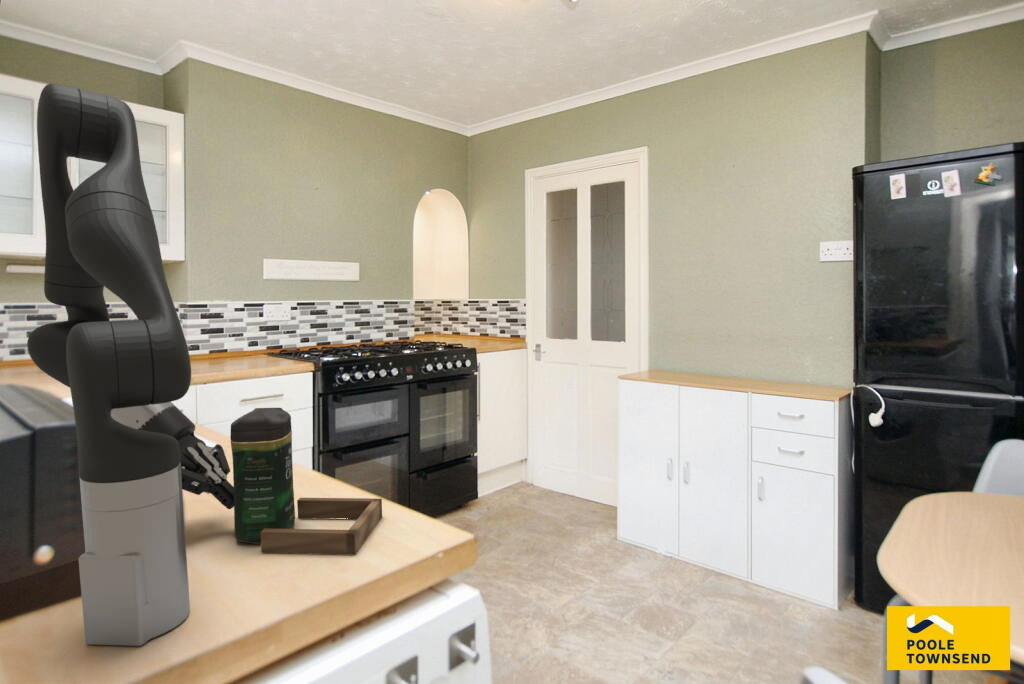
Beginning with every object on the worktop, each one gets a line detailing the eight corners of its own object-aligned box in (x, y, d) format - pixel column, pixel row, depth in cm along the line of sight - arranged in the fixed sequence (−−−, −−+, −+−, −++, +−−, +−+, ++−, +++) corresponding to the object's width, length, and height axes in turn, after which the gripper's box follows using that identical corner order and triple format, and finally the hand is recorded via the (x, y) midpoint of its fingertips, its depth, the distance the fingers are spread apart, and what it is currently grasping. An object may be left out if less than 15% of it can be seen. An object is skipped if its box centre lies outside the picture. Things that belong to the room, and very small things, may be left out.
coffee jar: (287, 544, 86) (281, 416, 84) (228, 547, 85) (221, 418, 83) (301, 518, 96) (296, 402, 94) (248, 521, 95) (242, 404, 93)
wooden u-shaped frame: (355, 554, 83) (354, 533, 82) (261, 552, 83) (260, 532, 83) (382, 516, 96) (381, 498, 96) (301, 515, 97) (300, 497, 96)
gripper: (138, 415, 83) (230, 503, 83) (194, 396, 96) (273, 472, 96) (104, 452, 83) (195, 539, 84) (164, 428, 97) (242, 504, 97)
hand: (236, 503), depth 90 cm, fingers closed
